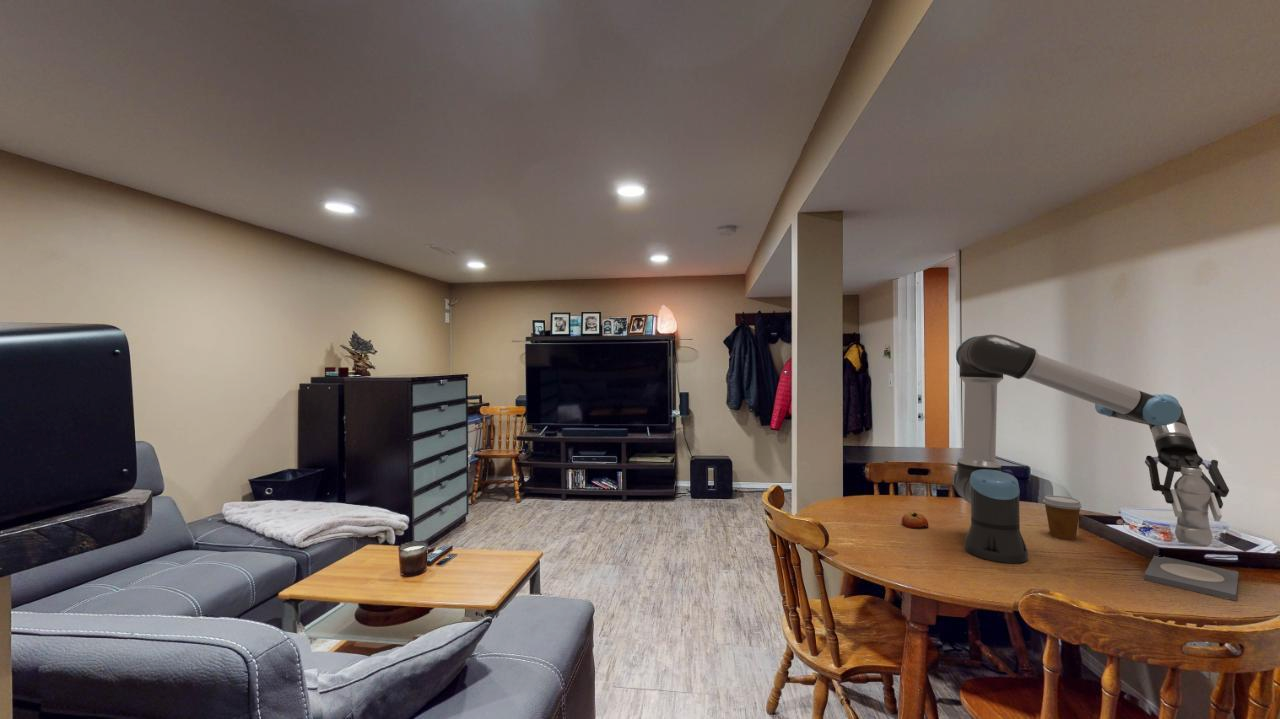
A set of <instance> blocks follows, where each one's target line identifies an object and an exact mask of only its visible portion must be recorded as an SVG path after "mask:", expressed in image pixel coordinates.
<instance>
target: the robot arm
mask: <svg viewBox="0 0 1280 719" xmlns="http://www.w3.org/2000/svg"><path fill="white" fill-rule="evenodd" d="M955 360H956V362H957V364H958V366H959V376H958V377H959V379H960V380H961V381H962V382H963V383H964V399H963V400H964V401H963V402H964V403H963V405H964V406H963V444H962V446H963V447H962V449H963V450H962V456H961V457H960V458H958V459H957V462H956V466H957V467H956V470H955V472H954V474H953V478H952V484H953V488H954V490H955V492H956V493H957V494H958V495H959V496H960V497H961V498H962V499H963V500H964V501H965V502H967V503H969V504H970V521H971V523H970V525H969V529H968V531H967V534H966V537H965V538H964V550H965V551H966V552H967V553H969V554H971V555H973V556H975V557H978V558H981V559H983V560H987V561H992V562H997V563H1003V564H1004V563H1005V564H1022V563H1026V562H1027V561H1028V560H1029V552H1028V548H1027V546H1026V543H1025V541H1024V539H1023V535H1022V533H1021V528H1020V525H1021V524H1020V492H1021V490H1020V486H1019V481H1018V479H1017V477H1015V476H1014V475H1012V474H1010V473H1008V472H1003V471H1002V464H1000V462H999V461H997V459H996V453H997V452H996V451H997V450H996V448H997V447H996V446H997V409H998V408H997V405H998V404H997V403H998V402H997V401H998V384H999V383H1000V382H1001V381H1002V380H1004V376H1009V377H1012V378H1014V379H1017V380H1020V379H1027V380H1030V381H1032V382H1035V383H1037V384H1039V385H1040V384H1041V385H1043V386H1046V387H1049V388H1052V389H1054V390H1057V391H1060V392H1063V393H1065V394H1068V395H1070V396H1073V397H1076V398H1079V399H1080V400H1081V399H1082V400H1083V401H1087V402H1089V403H1092V404H1094V410H1095V411H1096V412H1097V413H1098V414H1100V415H1103V416H1107V417H1108V418H1111V417H1112V418H1116V419H1120V420H1125V421H1128V422H1129V421H1130V422H1134V423H1138V424H1143V425H1148V426H1149V429H1150V432H1151V435H1152V439H1153V442H1154V445H1155V449H1156V452H1157V456H1151V455H1146V458H1145V461H1144V464H1145V465H1146V466H1147V468H1148V471H1149V473H1148V474H1149V477H1150V478H1149V479H1150V486H1151V490H1153V491H1155V492H1161V495H1163V496H1164V500H1165V503H1167V504H1171V506H1172V510H1173V514H1174V517H1175V518H1177V517H1180V515H1181V513H1182V510H1181V507H1180V503H1179V500H1178V497H1177V494H1176V491H1175V489H1174V488H1171V487H1172V484H1173V479H1174V475H1175V472H1176V473H1181V466H1194V467H1200V466H1201V465H1203V467H1204V468H1205V469H1206V471H1208V475H1209V476H1210V478H1211V480H1212V481H1211V480H1210V478H1208V477H1207V476H1206V474H1205V473H1204V472H1203V471H1202V474H1203V476H1201V478H1202V479H1203V480H1204V481H1205V482H1206V483H1207V484H1208V485H1209V487H1210V489H1211V494H1210V500H1209V510H1210V511H1211V514H1212V517H1213V520H1214V522H1220V520H1222V517H1223V515H1222V511H1221V510H1222V508H1223V506H1224V503H1223V499H1222V498H1226V497H1227V496H1228V495H1229V492H1230V489H1229V487H1228V485H1227V483H1226V481H1225V479H1224V478H1223V475H1222V473H1221V471H1220V470H1219V467H1218V466H1219V461H1218V460H1216V459H1212V460H1207V459H1203V458H1202V457H1201V456H1200V455H1199V454H1198V450H1197V447H1196V444H1195V442H1194V439H1193V436H1192V434H1191V432H1190V428H1189V426H1188V423H1187V420H1186V417H1185V413H1184V410H1183V407H1182V406H1181V404H1180V402H1179V400H1178V399H1177V398H1176V397H1174V396H1173V395H1171V394H1170V395H1169V394H1165V393H1162V394H1150V393H1147V392H1144V391H1142V390H1139V389H1136V388H1133V387H1131V386H1127V385H1126V384H1123V383H1120V382H1117V381H1114V380H1111V379H1109V378H1105V377H1103V376H1100V375H1097V374H1094V373H1091V372H1089V371H1086V370H1084V369H1080V368H1077V367H1075V366H1072V365H1070V364H1067V363H1064V362H1061V361H1058V360H1055V359H1053V358H1050V357H1047V356H1045V355H1042V354H1040V353H1038V351H1037V349H1035V348H1034V347H1030V346H1028V345H1025V344H1022V343H1020V342H1018V341H1015V340H1013V339H1010V338H1007V337H1005V336H1001V335H998V334H985V335H977V336H972V337H970V338H968V339H965V340H964V341H962V343H960V345H959V346H957V350H956V352H955ZM1158 463H1159V464H1161V465H1163V466H1164V467H1166V468H1167V470H1166V475H1165V478H1164V482H1163V484H1161V480H1160V475H1159V469H1158Z"/></svg>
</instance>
